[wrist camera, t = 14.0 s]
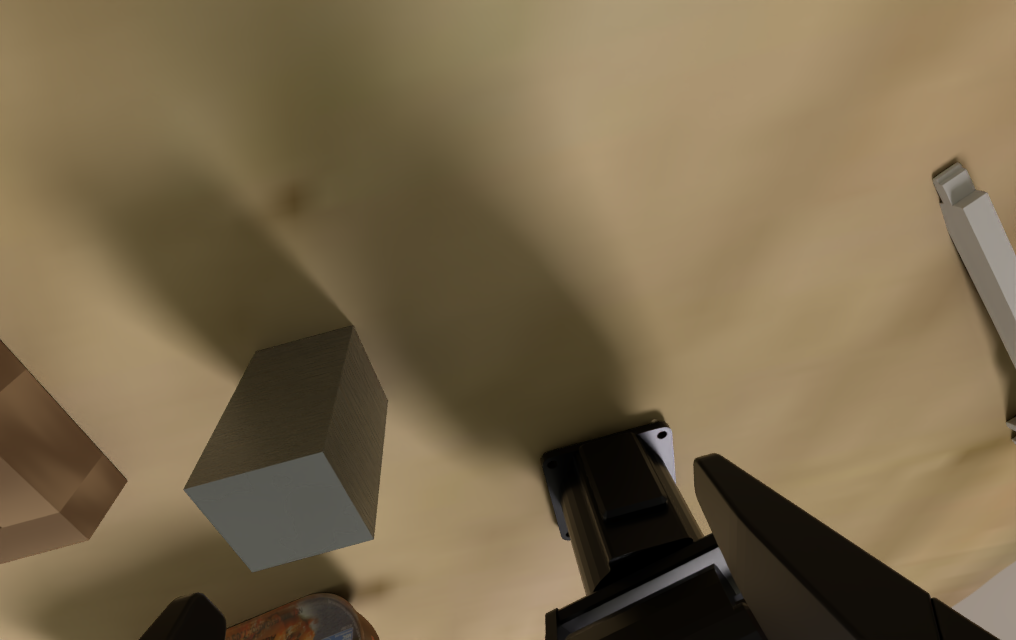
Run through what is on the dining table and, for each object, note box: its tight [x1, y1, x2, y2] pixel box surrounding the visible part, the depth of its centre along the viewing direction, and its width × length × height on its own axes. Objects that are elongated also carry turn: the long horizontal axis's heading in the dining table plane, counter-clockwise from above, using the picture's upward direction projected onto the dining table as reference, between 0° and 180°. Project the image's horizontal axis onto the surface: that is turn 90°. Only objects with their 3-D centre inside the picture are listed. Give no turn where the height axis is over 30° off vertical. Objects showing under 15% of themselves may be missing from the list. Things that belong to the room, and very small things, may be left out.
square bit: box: [183, 326, 388, 572], centre depth 18 cm, size 4×4×7 cm
